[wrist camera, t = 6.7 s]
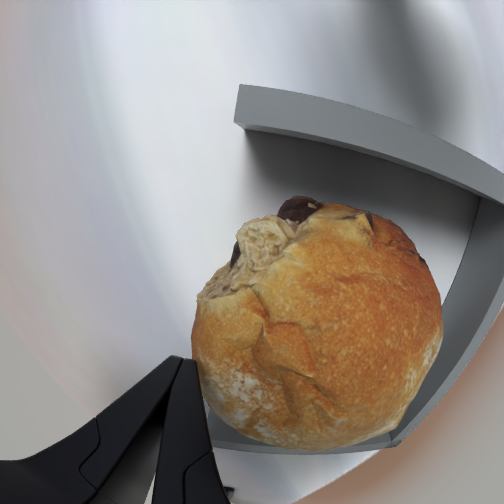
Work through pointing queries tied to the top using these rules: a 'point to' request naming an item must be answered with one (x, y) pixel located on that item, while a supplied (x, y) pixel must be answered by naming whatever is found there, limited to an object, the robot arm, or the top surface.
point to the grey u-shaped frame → (427, 161)
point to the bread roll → (317, 327)
